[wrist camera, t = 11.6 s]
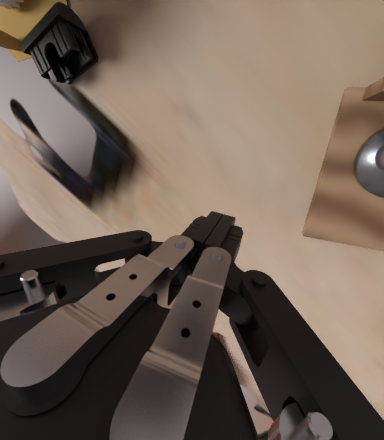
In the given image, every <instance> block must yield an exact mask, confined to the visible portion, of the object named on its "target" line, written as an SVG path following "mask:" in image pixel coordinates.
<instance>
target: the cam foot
mask: <svg viewBox="0 0 384 440" xmlns="http://www.w3.org/2000/svg"><path fill="white" fill-rule="evenodd" d="M354 175H355V178H356V180H357V182H358V183H359V185H360V186H361V187H362V188H363V189H364V190H366V191H368V192H369V193H372V194H374V195H376V196H378V197H381V198H384V127H383V128H382V129H380V130H378V131H377V132H375V133H374V134H372V135H371V136H370V137H369V138H368V139H367V140H366V141H365V142H364V143H363V145H362V146H361V147H360V149H359V150H358V152H357V155H356V157H355V160H354Z"/></svg>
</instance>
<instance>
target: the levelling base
mask: <svg viewBox="0 0 384 440" xmlns="http://www.w3.org/2000/svg"><path fill="white" fill-rule="evenodd" d="M383 127H384V78H382V79H380V80H378V81H376V82H375V83H373V84H371V85H369V86H368V87H348V88H347V89H345V90H344V94H343V97H342V101H341V104H340V107H339V111H338V114H337V117H336V121H335V124H334V128H333V131H332V134H331V138H330V141H329V144H328V148H327V151H326V155H325V158H324V161H323V165H322V168H321V171H320V175H319V178H318V182H317V185H316V188H315V192H314V195H313V198H312V202H311V205H310V209H309V212H308V215H307V219H306V222H305V225H304V229H303V232H302V233H303V236H305V237H311V238H316V239H321V240H327V241H332V242H338V243H343V244H348V245H354V246H359V247H364V248H370V249H375V250H380V251H384V198H381V197H378V196H376V195H374V194H372V193H369V192H368V191H366V190H364V189H363V188H362V187H361V186H360V185H359V183H358V182H357V180H356V178H355V175H354V160H355V157H356V155H357V152H358V150H359V149H360V147H361V146H362V145H363V143H364V142H365V141H366V140H367V139H368V138H369V137H370V136H371V135H372V134H374V133H375V132H377V131H378V130H380V129H382V128H383Z"/></svg>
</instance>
